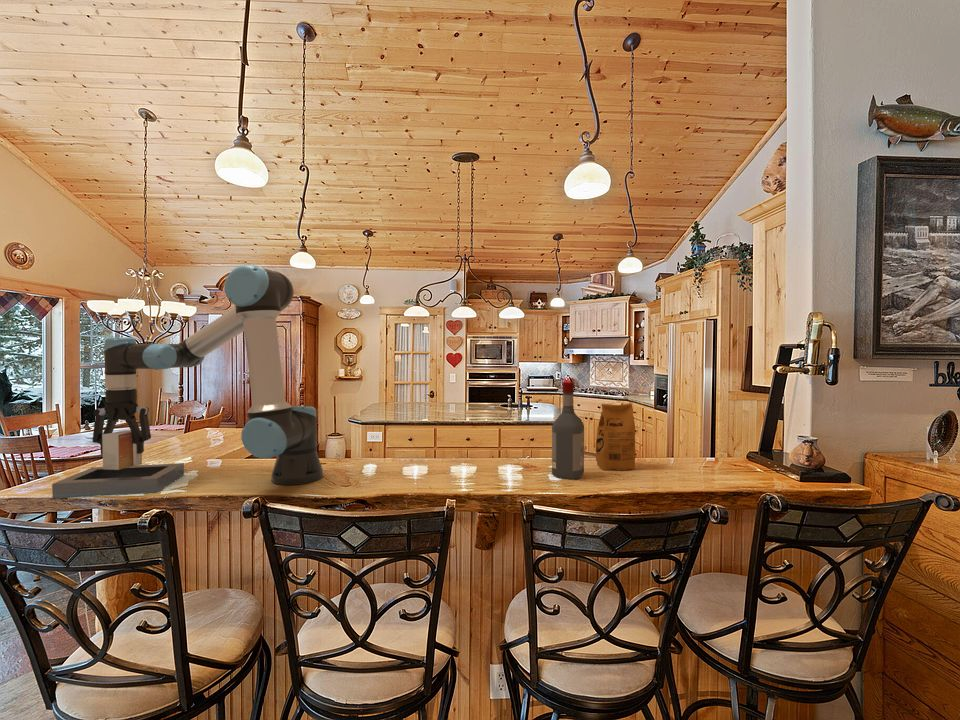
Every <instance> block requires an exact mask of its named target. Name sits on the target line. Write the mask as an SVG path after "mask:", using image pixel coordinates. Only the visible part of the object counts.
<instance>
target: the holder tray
mask: <svg viewBox="0 0 960 720" xmlns="http://www.w3.org/2000/svg"><path fill="white" fill-rule="evenodd" d="M184 476H185V463H184V462H181V463H178V462H177V463H161V464H159V463H158V464H140V465H136V466H131V467H127V468H123V469H120V470H106V469H103V466H98V467H97V466H95V467H94V466H93V467H90V468H88V469H85V470H83V471H81V472H77V473H75V474H73V475H70V476H68V477H66V478H64V479H63V478H62V479H60V480H59V481H55V482H54V483H52V484H51V486H52V487H51V488H52V489H51V490H52V493H51V494H52V495H51V496H52V499H59V498H61V499H62V498H78V497H81V496H83V497H97V496H96V495H101V496H114V495H115V496H116V495H117V496H119V495H131V494H132V495H135V494H152V493H158V492H161V490H163V489H165V488H167V487H168V486H170V485H172V484H173V483H174V482H176V481H178V480H179V479H181V478H182V477H184ZM180 477H181V478H180ZM177 479H178V480H177ZM175 480H176V481H175ZM172 482H173V483H172ZM94 495H95V496H94ZM81 498H82V497H81Z"/></svg>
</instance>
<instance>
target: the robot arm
mask: <svg viewBox="0 0 960 720" xmlns="http://www.w3.org/2000/svg"><path fill="white" fill-rule="evenodd" d="M294 293H295V292H294V286H293V284H292V282H291V281H290V279H289V278H288V277H287V276H286V275H285V274H283V273H281V272H278V271H275V270H270V269H267V268H264V267H262V266H259V265H253V264H242V265H238V266H237V267H235V268H233V270H231V271H230V272H229V274H227V276H226V279H225V281H224V294H225V296H226V298H227V299H228V300H229V301H230V302H231V303H232V304H233V305H234V307H233V308H231V309H230V310H228V311H226V312H225V313H224V314H222V315H220V316H219V317H217V318H216V319H213V321H211V322H210V323H208V324H207V325H205V326H204V327H202V328H201V329H199V330H197V331H196V332H195V333H193V334H192V335H190V336H189V337H187V338H186V339H184V340H182V341H180V342H179V343H157V342H156V343H137V339H136V338H135V337H132V336H131V337H130V336H129V337H127V336H126V337H124V336H123V337H122V336H119V337H118V336H115V337H114V336H111V337H106V338H105V340H104V347H103V354H104V355H103V356H104V388H105V392H104V394H105V396H104V397H105V399H104V400H105V406H104V407H103V408H102V407H101V408H96V409H93V414H94V423H93V434H92V443H96V444H99V445H100V454H101V456H103V445H102V435H103V434H109V433H114V429H115V427H116V424H117V423H118V421H120V420H121V421H125V422H126V424H127V425H128V427H129V430H131V432H132V434H133V437H134V439H135V441H136V442H135V443H134V444H133V466H134V465H138V464H140V463H141V453H142V454H143V453H144V451H145V448H144V447H145V445H144V443H145V442H146V441H148V440H151V439H152V435H151V429H150V422H149V415H148V414H149V411H150V409H149V407H141V406H139V405H138V402H137V401H138V390H137V389H136V387H138V386H137V383H138V380H137V370H138V369H139V370H156V371H159V370H168V369H175V368H178V369H179V368H193V367H197V366H199V365H201V364H202V363H203V361H204V360H205V357H206V356H207V355H209V354H210V353H212V352H213V351H215V350H217V349H218V348H220V347H221V346H222V345H224V344H225V343H227V342H229V341H230V340H232V339H234V338H235V337H237V336H239V335H240V334H241V333H244V340H245V342H244V343H245V351H246V359H247V365H248V366H247V369H248V376H249V377H248V378H249V385H250V386H249V387H250V393H251V402H252V405H251V406H250V408H249V409H248V410H247V420H248V421H247V422H246V423H245V424H244V426H243V427H242V428H241V435H240V436H241V438H240V439H241V443H242V444H243V446H244V448H245V450H246V451H247V452H248V453H250V454H251V455H252V456H254V457H256V458H259V459H270V458H273V457H276V459H275V462H274V465H273V469H272V472H271V482H272V483H273V484H276V485H282V486H283V485H284V486H285V485H287V486H293V485H302V484H303V485H305V484H308V483H313V482H315V481H318V480H320V479H322V478H323V476H324V473H323V472H324V468H323V465H322V463H321V460H320V457H319V455H318V450H317V448H318V447H317V446H318V444H317V440H318V439H317V434H318V432H317V425H318V422H317V419H318V417H317V409H316V408H315V407H314V406H307V405H305V406H303V405H302V406H301V405H300V406H299V405H298V406H296V405H295V406H294V405H291V404H290V403H288V402H287V401H286V396H285V389H284V388H285V386H284V379H283V378H284V376H283V370H282V369H283V368H282V361H281V360H282V359H281V353H280V344H279V334H278V326H277V318H278V317H279V315H281V314H282V311H284V310H285V309H286V308H287V307H288V306H289V305H290V304H291V303H292V301H293V298H294ZM136 413H137V414H138V415H139V416H138V419H139V424H138V422H137V417H136ZM106 414H107V415H108V418H107V420H106V422H107V423H106V425H104V424H105V415H106ZM139 425H140V426H139ZM104 426H105V427H104ZM140 430H141V431H140ZM140 465H141V464H140Z"/></svg>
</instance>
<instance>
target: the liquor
mask: <svg viewBox="0 0 960 720" xmlns="http://www.w3.org/2000/svg"><path fill="white" fill-rule="evenodd" d="M574 393H575V382H572V381H570V382H569V381H565V382H562V409H561V413H560V414H559V416H558V417H557V418H556V419H555V420H554V421H553V423H552V426H551V474H552V476H553V477H554V478H556V479H563V480H571V481H573V480H574V481H575V480H579V479H581V478H582V477H583V475H584V473H585V425H584V423H583V421H582V419H580V418H579V416H578V414H576V413H575V409H574Z"/></svg>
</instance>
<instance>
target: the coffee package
mask: <svg viewBox="0 0 960 720" xmlns="http://www.w3.org/2000/svg"><path fill="white" fill-rule="evenodd" d="M595 461H596V464H597V466H598V467H599V469H601V470H603V471H611V470H617V471H622V472H623V471H630V470H635V468H636V423H635V418H634V407H633V404H632V403H624V404H611V403H610V404H608V403H601V412H600V417H599V421H598V426H597V430H596V441H595Z"/></svg>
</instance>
